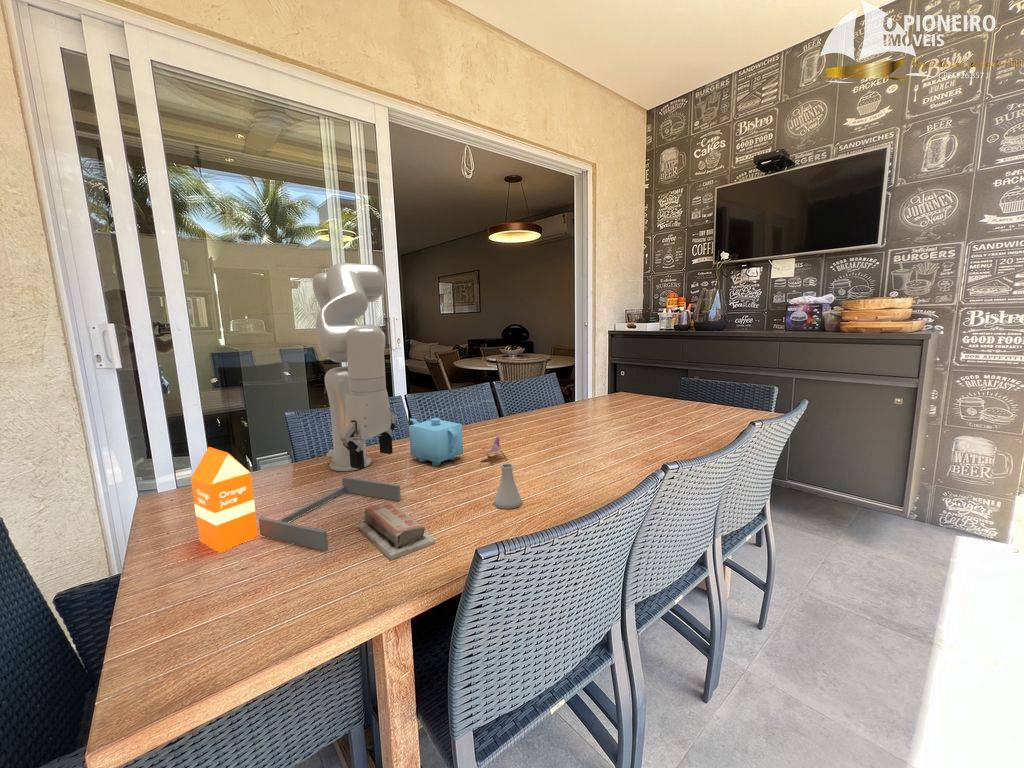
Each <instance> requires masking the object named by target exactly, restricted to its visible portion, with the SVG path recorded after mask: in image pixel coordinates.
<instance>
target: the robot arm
mask: <svg viewBox="0 0 1024 768" xmlns="http://www.w3.org/2000/svg"><path fill="white" fill-rule="evenodd" d="M385 284H386V283H385V276H384V274H383V271H382V270H381V268H380V267H379V266H377V265H375V264H371V263H353V262H352V263H351V262H339V263H335V264H333V265H331V266H330V267H329V268H328V269H327V271H326V272H320V273H317V274H315V275H314V276H313V278H312V290H313V293H314V294H313V295H314V297H315V300H316V301H317V304H318V305H319V307H320V310H319V311H318V313H317V316H316V321H315V332H316V338H317V345H318V349H319V352H320V353H321V355H322V356H323V357H324V358H325V359H326V358H327V359H328V360H331V361H332V362H334V363H347V365H346V366H339V367H333V368H331V369H329V370H327V371H326V372H325V375H324V386H325V390H326V393H327V398H328V399H327V400H328V403H329V404H328V405H329V410H330V421H331V434H332V443H333V444H332V445H333V449H329V450H328V452H327V453H326V454H325V456H326V457H327V458H331V461H330V463H329V468H330V470H332V471H336V472H351V471H355V470H356V471H357V470H363V469H365V468H367V467H368V466H370V465H371V464H372V462H373V461H372V457H370V456H369V455H367V449H366V446H367V445H366V441H367V440H371V439H372V438H375V437H377V436H378V445H379V453H381V454H387V455H392V454H393V452H394V451H393V450H394V449H393V436H394V429H395V427H396V421H397V415H396V414H395V413H392V412H391V406H390V399H389V394H388V390H387V382H386V381H387V380H386V364H385V349H386V340H387V339H386V335H385V333H384V331H383V330H382V329H381V327H380V326H378V325H375V324H356V320H357V319H358V318H360V317H361V316H364V314H366V312H367V310H368V307H369V303H374V302H375V301H377V300H378V299H379V298H380V297H381V296H382V295H383V294H384V291H385Z"/></svg>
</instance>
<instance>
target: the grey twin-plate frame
mask: <svg viewBox="0 0 1024 768" xmlns="http://www.w3.org/2000/svg"><path fill="white" fill-rule="evenodd" d="M341 482H342V486H341V487H339V488H337V489H336V490H333V491H332V492H330V493H327V494H326V495H324V496H322V497H320V498H318V499H316V500H314V501H313V502H310V503H308V504H307V505H304V506H302V507H301V508H298V509H297V510H295V511H293V512H291V513H289V514H287V515H285V516H283V517H281V518H279V519H278V520H276V519H272V518H268V517H264V516H262V517H259V518H258V524H259V525H258V526H259V527H258V528H259V535H262V536H265V537H264V538H267V537H269V538H268V539H271V538H273V539H272V540H275V539H277V541H280V540H281V541H280V542H284V541H285V542H284V543H288V542H289V543H288V544H292V543H294V544H293V545H298V546H301V545H302V547H305V546H306V548H310V549H314V550H315V549H316V550H319V551H322V550H323V552H326V551H327V550H329V547H328V546H329V545H328V537H327V535H328V534H327V530H326V529H324V530H323V529H319V528H315V527H311V526H305V525H301V524H296V523H291V522H292V521H291V520H293V519H294V518H296V517H298V516H300V515H302V514H304V513H306V512H307V511H309V510H311V509H313V508H315V507H317V506H319V505H321V504H323V503H324V502H326V501H328V500H330V499H332V498H334V497H336V496H338V495H340V494H342V493H343V494H345V493H346V492H350V493H349V494H352V493H355V494H354V495H358V494H360V496H364V495H365V497H372V498H377V499H384V500H389V501H396V502H400V501H401V500H402V498H401V485H400V484H396V483H395V484H394V483H388V482H380V481H374V480H369V479H368V480H367V479H361V478H354V477H348V476H347V477H346V476H343V477H341ZM344 492H345V493H344ZM343 494H342V495H343ZM340 496H341V495H340ZM338 497H339V496H338ZM336 498H337V497H336ZM334 499H335V498H334ZM332 500H333V499H332ZM330 501H331V500H330ZM323 505H324V504H323ZM321 506H322V505H321ZM319 507H320V506H319ZM317 508H318V507H317ZM306 514H307V513H306ZM304 515H305V514H304ZM289 521H291V522H290V523H288V522H289ZM293 521H294V520H293ZM262 536H261V537H262Z"/></svg>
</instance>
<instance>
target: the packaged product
mask: <svg viewBox="0 0 1024 768" xmlns="http://www.w3.org/2000/svg"><path fill="white" fill-rule="evenodd" d="M363 518H364V520H362V521H361V520H360V521H358V522H357V523H356V524H357V528H358V529H359V531H361V532H362V534H363V535H364V536H365V537H366V538H367V539H369V541H370V542H371V543H372V544H373V545H374V546H375V547H376V549H377V550H378V551H380V552H381V553H382V554H383V555H384V556H386V557H387V558H388V559H389V560H390V561H394V560H396V559H399V558H401V557H404V556H407V555H409V554H411V553H412V554H413V552H416V551H419V550H421V549H424V548H426V547H429V546H432V545H434V544H435V543H436V538H434V537H432V536H431V535H430V534H428V533H427V532H426V531H425V530H426V529H425V527H424V526H423V525H422V524H421V523H420V522H418V521H417V520H415V519H414V517H411V516H410V515H408V513H406V512H405V511H403V510H402V509H401V508H399V507H398V506H397V505H396V504H395V503H393V502H391V501H390V502H387V501H384V502H383V503H378V504H376V505H372V506H370V507H366V508H365V510H364V517H363Z"/></svg>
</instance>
